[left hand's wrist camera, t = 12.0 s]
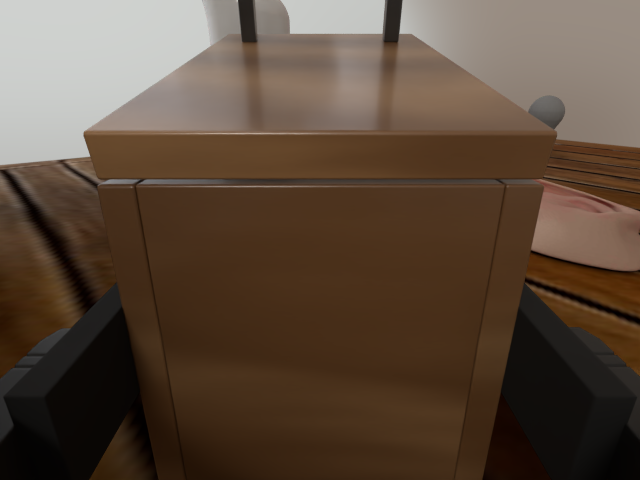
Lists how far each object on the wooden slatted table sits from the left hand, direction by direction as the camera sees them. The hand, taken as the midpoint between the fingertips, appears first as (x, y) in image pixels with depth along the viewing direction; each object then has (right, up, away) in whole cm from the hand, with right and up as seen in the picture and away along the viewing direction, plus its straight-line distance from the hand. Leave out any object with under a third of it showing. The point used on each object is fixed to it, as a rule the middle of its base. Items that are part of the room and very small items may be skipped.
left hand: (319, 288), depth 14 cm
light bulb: (+42, +19, +64) cm, 79 cm away
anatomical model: (+22, +2, +22) cm, 31 cm away
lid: (0, +7, +2) cm, 8 cm away
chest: (0, -4, +7) cm, 8 cm away
